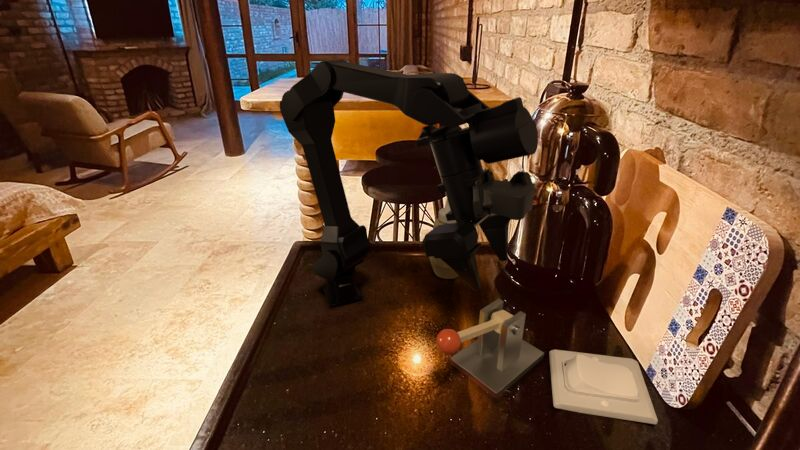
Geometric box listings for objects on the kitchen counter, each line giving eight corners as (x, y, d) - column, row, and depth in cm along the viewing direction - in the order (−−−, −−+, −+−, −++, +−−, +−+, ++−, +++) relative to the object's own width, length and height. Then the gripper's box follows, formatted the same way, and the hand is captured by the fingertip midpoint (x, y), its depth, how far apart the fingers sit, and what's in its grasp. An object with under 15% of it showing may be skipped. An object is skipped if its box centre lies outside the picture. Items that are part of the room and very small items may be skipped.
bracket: (495, 399, 58) (502, 347, 53) (449, 364, 64) (452, 314, 60) (543, 359, 65) (552, 309, 60) (497, 330, 71) (503, 283, 66)
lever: (446, 362, 51) (452, 340, 50) (428, 348, 53) (433, 327, 52) (513, 334, 61) (518, 315, 60) (495, 323, 63) (501, 305, 62)
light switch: (550, 336, 64) (641, 346, 61) (548, 356, 66) (636, 367, 63) (555, 390, 55) (663, 406, 52) (553, 412, 57) (656, 428, 53)
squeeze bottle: (469, 282, 84) (474, 202, 76) (429, 283, 84) (431, 203, 76) (464, 262, 91) (468, 187, 83) (427, 262, 91) (429, 187, 83)
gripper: (484, 180, 42) (521, 311, 46) (542, 140, 56) (567, 244, 60) (403, 195, 50) (440, 307, 53) (471, 157, 63) (497, 248, 67)
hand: (491, 274), depth 58 cm, fingers open, 9 cm apart
